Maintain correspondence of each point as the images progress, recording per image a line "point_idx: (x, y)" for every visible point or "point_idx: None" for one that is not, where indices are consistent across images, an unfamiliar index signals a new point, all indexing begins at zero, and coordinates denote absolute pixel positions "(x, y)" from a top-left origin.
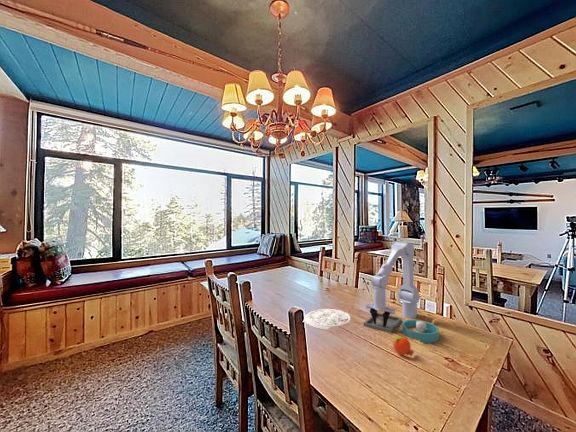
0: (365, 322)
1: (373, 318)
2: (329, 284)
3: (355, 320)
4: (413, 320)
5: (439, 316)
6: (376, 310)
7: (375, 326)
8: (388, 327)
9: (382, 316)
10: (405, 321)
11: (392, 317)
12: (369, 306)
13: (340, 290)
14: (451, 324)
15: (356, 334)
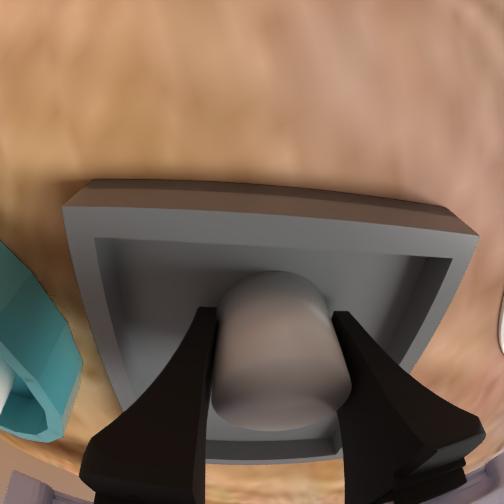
0: (459, 263)
1: (383, 358)
2: (483, 465)
3: (491, 312)
4: (36, 434)
5: (76, 474)
6: (359, 493)
7: (320, 215)
8: (172, 321)
9: (292, 444)
10: (51, 417)
11: (210, 454)
12: (494, 502)
13: (464, 467)
14: (10, 435)
15: (475, 4)
